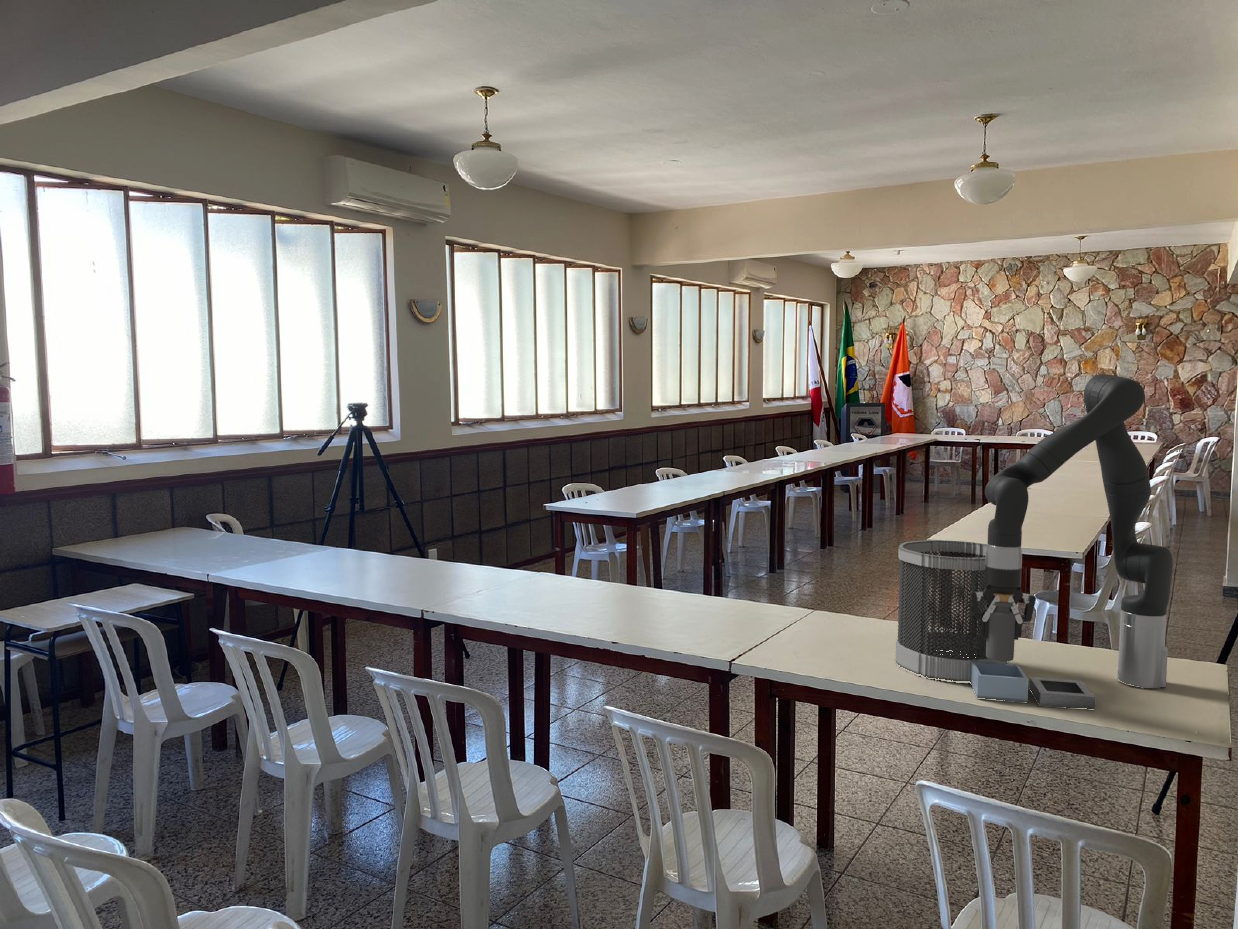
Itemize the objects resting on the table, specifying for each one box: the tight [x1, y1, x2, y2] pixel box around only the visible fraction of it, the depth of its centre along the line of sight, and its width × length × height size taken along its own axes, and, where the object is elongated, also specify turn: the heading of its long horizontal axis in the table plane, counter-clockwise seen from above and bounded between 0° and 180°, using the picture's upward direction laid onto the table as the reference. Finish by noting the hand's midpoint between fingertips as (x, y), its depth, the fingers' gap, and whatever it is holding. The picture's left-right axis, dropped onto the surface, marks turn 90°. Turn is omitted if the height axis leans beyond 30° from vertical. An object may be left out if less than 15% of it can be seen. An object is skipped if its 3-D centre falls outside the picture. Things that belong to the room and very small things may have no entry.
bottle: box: [986, 593, 1016, 662], centre depth 200 cm, size 6×6×15 cm
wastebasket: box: [895, 539, 1008, 681], centre depth 220 cm, size 25×25×30 cm
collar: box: [1028, 676, 1097, 710], centre depth 197 cm, size 11×11×3 cm
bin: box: [970, 662, 1029, 703], centre depth 201 cm, size 10×10×6 cm
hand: (1000, 637), depth 200 cm, fingers closed on bottle, 5 cm apart
